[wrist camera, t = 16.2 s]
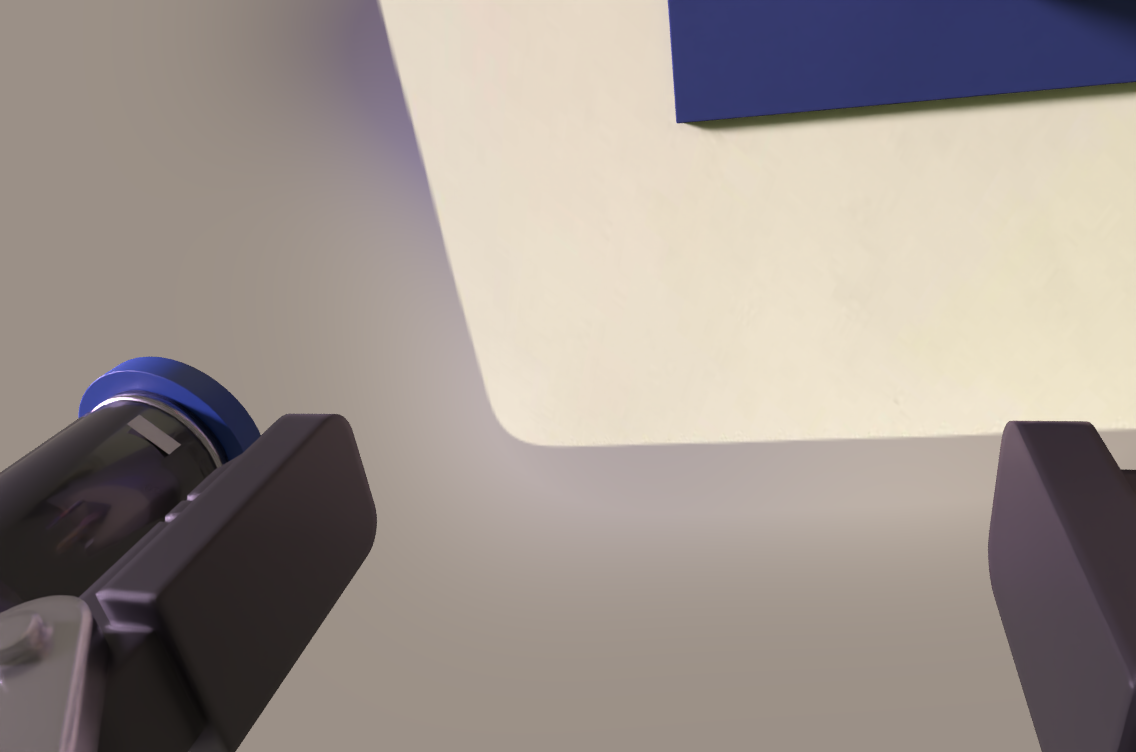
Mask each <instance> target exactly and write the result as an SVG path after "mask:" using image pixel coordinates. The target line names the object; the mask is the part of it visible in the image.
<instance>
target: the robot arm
mask: <svg viewBox="0 0 1136 752" xmlns="http://www.w3.org/2000/svg"><path fill="white" fill-rule="evenodd" d="M376 516H377V515H376V509H375V504H374V501H373V498H372V494H371V491H370V488H369V484H368V481H367V477H366V474H365V471H364V468H363V465H362V461H361V457H360V454H359V451H358V447H357V444H356V441H355V438H354V434H353V431H352V428H351V426H350V424H349V422H348V421H347V420H346V419H345V418H344V417H343V416H341V415H338V414H286V415H284V416H282V417H281V418H279V419H278V420H277V421H276V422H275V423H274V424H273V425H272V426H271V427H269V428H268V430H266V431H265V432H264V433H263V434H262V435H261V436H260V437H259V438H258V439H257V440H256V441H255V442H254V443H253V444H252V445H251V446H250V447H249V448H248V449H246V450H245V451H244V452H243V453H242V454H241V455H239V456H237V457H236V458H234V459H232V460H231V461H229V460H228V457H227V455H226V453H225V451H224V449H223V447H222V445H221V443H220V442H219V440H218V439H217V437H216V436H215V435H214V433H213V432H212V431H211V430H210V429H209V427H208V426H207V425H206V424H205V423H204V422H203V421H202V420H201V419H200V418H199V417H197V416H196V415H195V414H194V413H193V412H191V411H190V410H189V409H187V408H186V407H184V406H183V405H181V404H179V403H178V402H176V401H174V400H172V399H170V398H168V397H165V396H163V395H160V394H157V393H153V392H149V391H142V390H128V391H123V392H120V393H117V394H115V395H113V396H111V397H110V398H108V399H107V400H105V401H104V402H102V403H101V404H99V405H98V406H97V407H96V408H94V409H93V411H92V412H88V413H86V414H85V415H83V416H82V417H80V418H79V419H77V420H76V421H74V422H73V423H72V424H70V425H69V426H67V427H66V428H65V429H63V430H61V431H60V432H58V433H57V434H56V435H54V436H53V437H51V438H50V439H48V440H47V441H45V442H44V443H42V444H41V445H40V446H38V447H37V448H35V449H34V450H32V451H31V452H29V453H28V454H26V455H25V456H24V457H22V458H21V459H19V460H18V461H16V462H15V463H13V464H12V465H11V466H9V467H8V468H6V469H5V470H3V471H2V472H0V752H235V751H236V750H237V748H238V747H239V746H240V744H241V742H242V741H243V740H244V738H245V736H246V735H247V734H248V732H249V731H250V729H251V728H252V726H253V725H254V723H255V722H256V720H257V719H258V717H259V716H260V714H261V713H262V711H263V710H264V708H265V707H266V705H267V704H268V702H269V701H270V700H271V698H272V697H273V695H274V694H275V692H276V691H277V689H278V688H279V686H280V684H281V683H282V682H283V680H284V679H285V677H286V676H287V674H288V673H289V671H290V670H291V668H292V667H293V665H294V664H295V662H296V661H297V660H298V658H299V657H300V655H301V654H302V652H303V651H304V649H305V648H306V646H307V645H308V643H309V642H310V640H311V639H312V637H313V636H314V634H315V633H316V631H317V630H318V628H319V627H320V625H321V624H322V622H323V621H324V619H325V618H326V616H327V615H328V614H329V612H330V611H331V609H332V608H333V606H334V604H335V603H336V601H337V600H338V599H339V597H340V596H341V594H342V593H343V591H344V590H345V588H346V587H347V585H348V584H349V582H350V581H351V579H352V578H353V576H354V575H355V573H356V572H357V570H358V569H359V568H360V566H361V565H362V563H363V561H364V560H365V559H366V557H367V556H368V554H369V552H370V550H371V548H372V546H373V542H374V539H375V535H376V526H377V517H376ZM988 559H989V572H990V579H991V585H992V590H993V594H994V597H995V600H996V604H997V607H998V610H999V613H1000V616H1001V620H1002V623H1003V626H1004V630H1005V633H1006V636H1007V639H1008V643H1009V646H1010V649H1011V652H1012V656H1013V659H1014V662H1015V665H1016V669H1017V672H1018V675H1019V678H1020V682H1021V685H1022V688H1023V691H1024V695H1025V698H1026V701H1027V705H1028V708H1029V711H1030V714H1031V718H1032V721H1033V724H1034V727H1035V730H1036V734H1037V737H1038V740H1039V744H1040V747H1041V750H1042V752H1136V470H1121V469H1120V468H1119V467H1118V465H1117V463H1116V461H1115V460H1114V458H1113V457H1112V455H1111V453H1110V452H1109V450H1108V448H1107V447H1106V445H1105V443H1104V442H1103V440H1102V438H1101V437H1100V435H1099V434H1098V432H1097V430H1096V429H1095V427H1094V426H1093V425H1092V424H1091V423H1090V422H1083V421H1009V422H1008V423H1007V424H1006V426H1005V428H1004V431H1003V435H1002V441H1001V447H1000V455H999V463H998V470H997V478H996V486H995V493H994V500H993V508H992V516H991V523H990V530H989V542H988Z"/></svg>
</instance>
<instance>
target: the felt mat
mask: <svg viewBox="0 0 1136 752" xmlns="http://www.w3.org/2000/svg"><path fill="white" fill-rule="evenodd" d="M668 8H669V22H670V37H671V51H672V65H673V80H674V94H675V109H676V122H677V123H687V122H698V121H709V120H720V119H731V118H742V117H753V116H764V115H775V114H786V113H797V112H808V111H820V110H831V109H842V108H853V107H864V106H875V105H886V104H897V103H908V102H919V101H930V100H941V99H952V98H963V97H974V96H985V95H996V94H1007V93H1018V92H1029V91H1040V90H1051V89H1062V88H1073V87H1084V86H1095V85H1107V84H1118V83H1129V82H1136V0H668Z"/></svg>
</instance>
